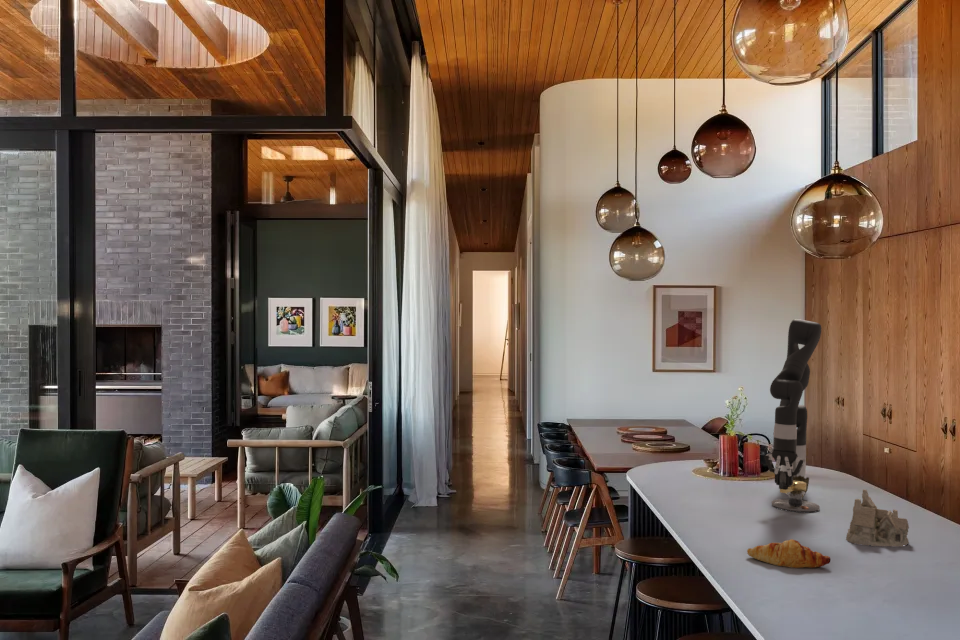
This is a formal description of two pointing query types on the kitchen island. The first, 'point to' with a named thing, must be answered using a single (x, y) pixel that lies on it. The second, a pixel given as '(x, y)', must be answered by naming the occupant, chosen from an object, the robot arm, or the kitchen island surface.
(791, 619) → the kitchen island surface
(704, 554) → the kitchen island surface
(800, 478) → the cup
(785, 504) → the post base
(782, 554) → the croissant
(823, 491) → the kitchen island surface
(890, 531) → the ceramic cottage
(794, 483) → the gold lever handle
